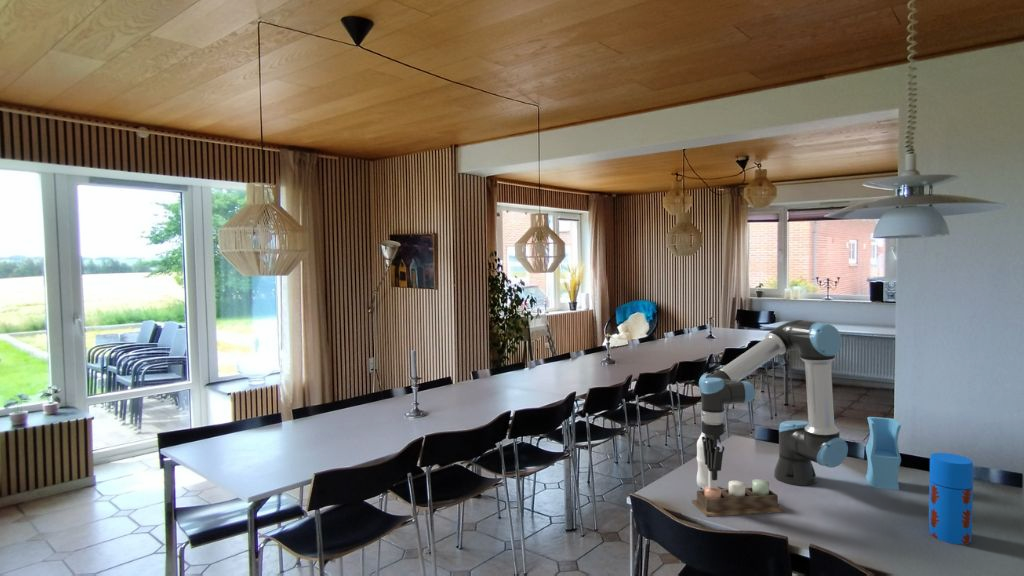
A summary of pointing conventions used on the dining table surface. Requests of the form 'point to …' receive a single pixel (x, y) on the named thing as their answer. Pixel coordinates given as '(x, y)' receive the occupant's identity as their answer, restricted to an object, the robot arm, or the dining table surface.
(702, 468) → the water bottle
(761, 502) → the brown wooden holder
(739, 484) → the cream key
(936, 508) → the thermos
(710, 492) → the pink rounded block
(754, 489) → the pale green rounded block
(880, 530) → the dining table surface
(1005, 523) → the dining table surface
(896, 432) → the vase
